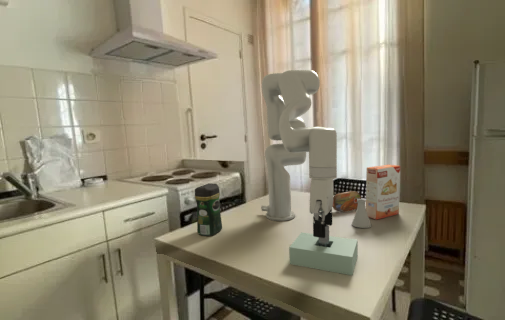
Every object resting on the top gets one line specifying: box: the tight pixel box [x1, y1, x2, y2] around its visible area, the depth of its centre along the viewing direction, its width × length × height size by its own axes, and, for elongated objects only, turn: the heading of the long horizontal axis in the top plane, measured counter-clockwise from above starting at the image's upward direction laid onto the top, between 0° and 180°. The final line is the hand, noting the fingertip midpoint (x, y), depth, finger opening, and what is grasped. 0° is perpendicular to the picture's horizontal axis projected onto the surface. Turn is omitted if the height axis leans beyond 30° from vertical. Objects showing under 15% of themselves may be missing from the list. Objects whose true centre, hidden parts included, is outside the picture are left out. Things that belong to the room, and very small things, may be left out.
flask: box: [351, 198, 372, 229], centre depth 108 cm, size 7×7×10 cm
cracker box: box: [365, 164, 401, 221], centre depth 118 cm, size 14×6×21 cm, turn 117°
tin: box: [332, 190, 362, 214], centre depth 128 cm, size 15×3×8 cm, turn 114°
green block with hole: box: [288, 232, 359, 276], centre depth 82 cm, size 17×12×5 cm
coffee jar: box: [194, 182, 223, 237], centre depth 108 cm, size 10×8×19 cm
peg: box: [319, 225, 330, 247], centre depth 82 cm, size 3×3×10 cm
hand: (323, 230), depth 82 cm, fingers open, 9 cm apart
